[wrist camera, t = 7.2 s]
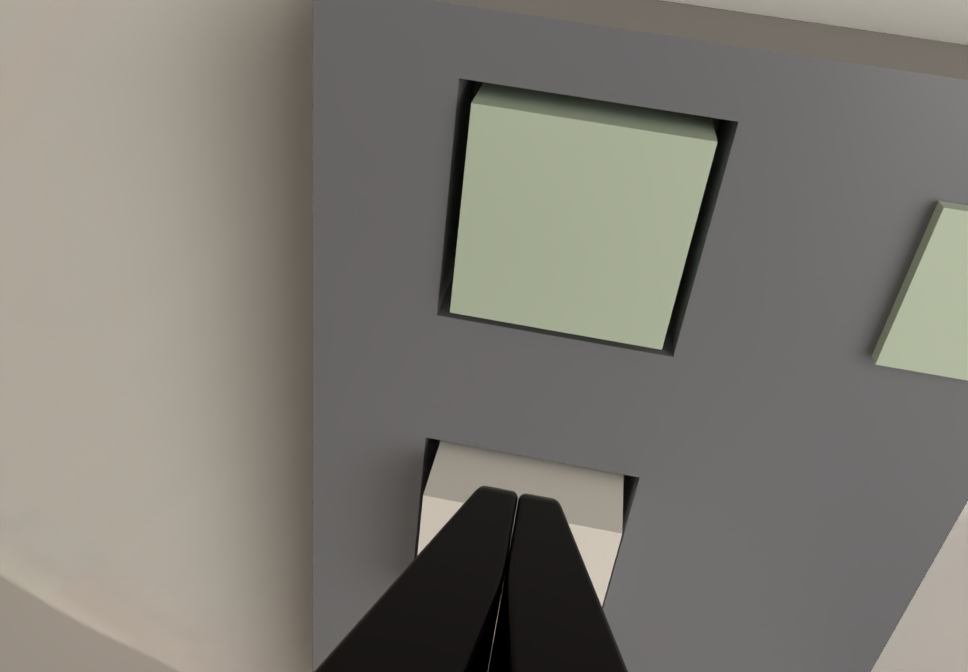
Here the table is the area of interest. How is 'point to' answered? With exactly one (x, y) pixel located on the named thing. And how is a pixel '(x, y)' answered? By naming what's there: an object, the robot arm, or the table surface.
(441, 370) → the keypad
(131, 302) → the table surface
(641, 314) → the sage key
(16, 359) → the table surface
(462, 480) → the offwhite key
